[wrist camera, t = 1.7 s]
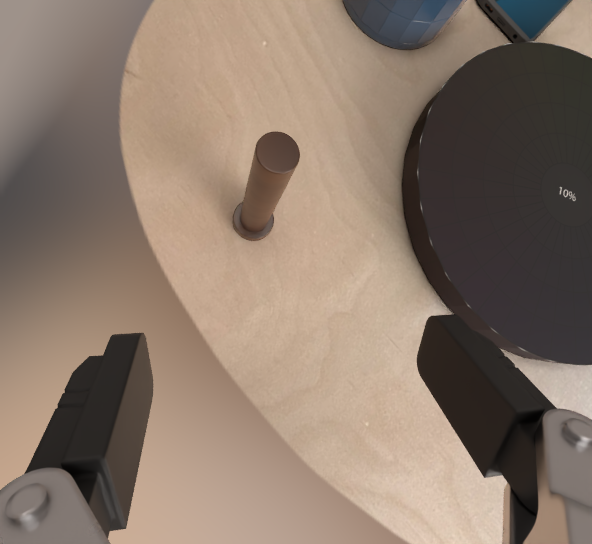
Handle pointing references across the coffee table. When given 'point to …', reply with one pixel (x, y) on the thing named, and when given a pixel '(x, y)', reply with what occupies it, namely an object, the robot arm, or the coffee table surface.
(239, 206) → the stick
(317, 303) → the coffee table surface
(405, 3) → the bowl
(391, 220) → the coffee table surface
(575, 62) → the disc
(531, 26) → the smartphone
